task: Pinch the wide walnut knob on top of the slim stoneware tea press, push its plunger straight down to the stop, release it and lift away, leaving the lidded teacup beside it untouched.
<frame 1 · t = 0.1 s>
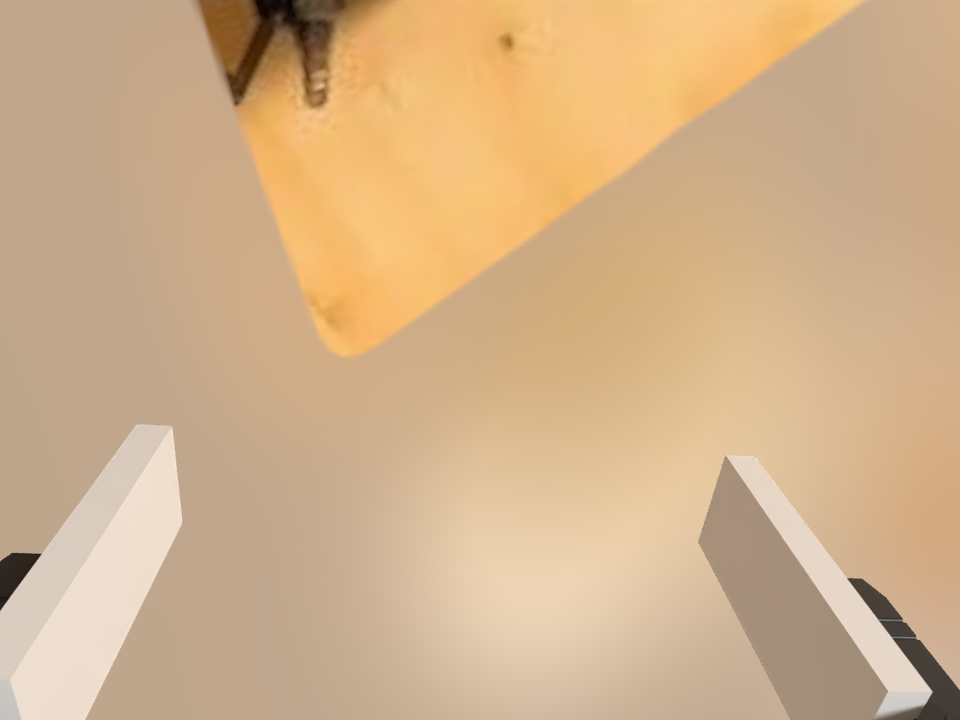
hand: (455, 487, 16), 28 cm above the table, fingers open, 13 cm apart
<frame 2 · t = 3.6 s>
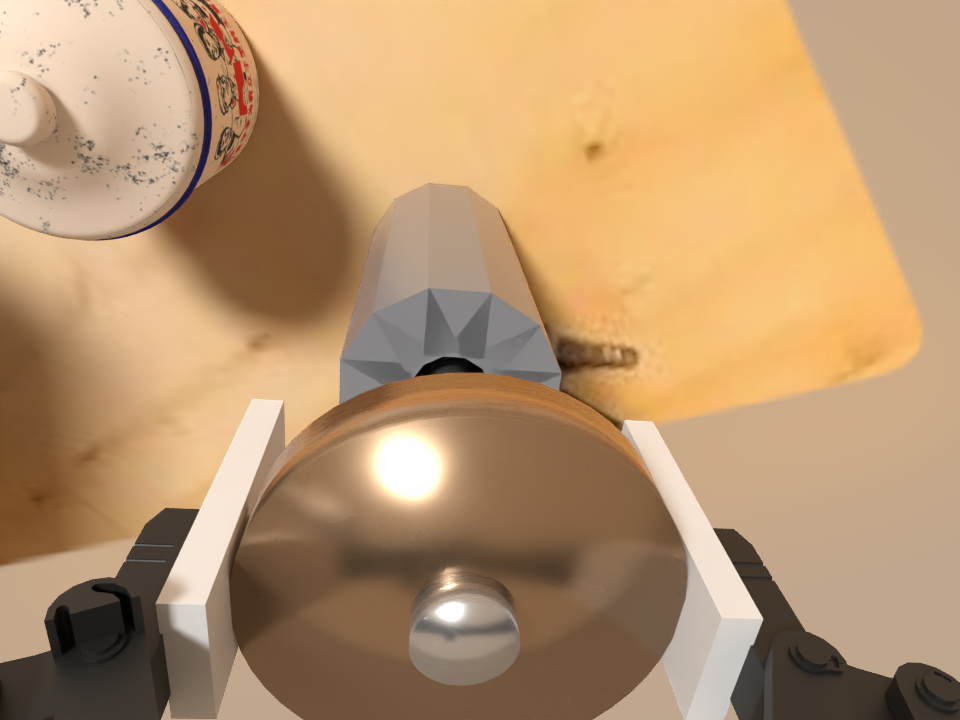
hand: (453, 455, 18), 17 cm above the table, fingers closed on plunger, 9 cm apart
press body: (442, 253, 33), on the table
plunger: (452, 431, 19), point 16 cm above the table, slide at 0.0 cm, touching gripper
teacup with lid: (147, 42, 28), on the table
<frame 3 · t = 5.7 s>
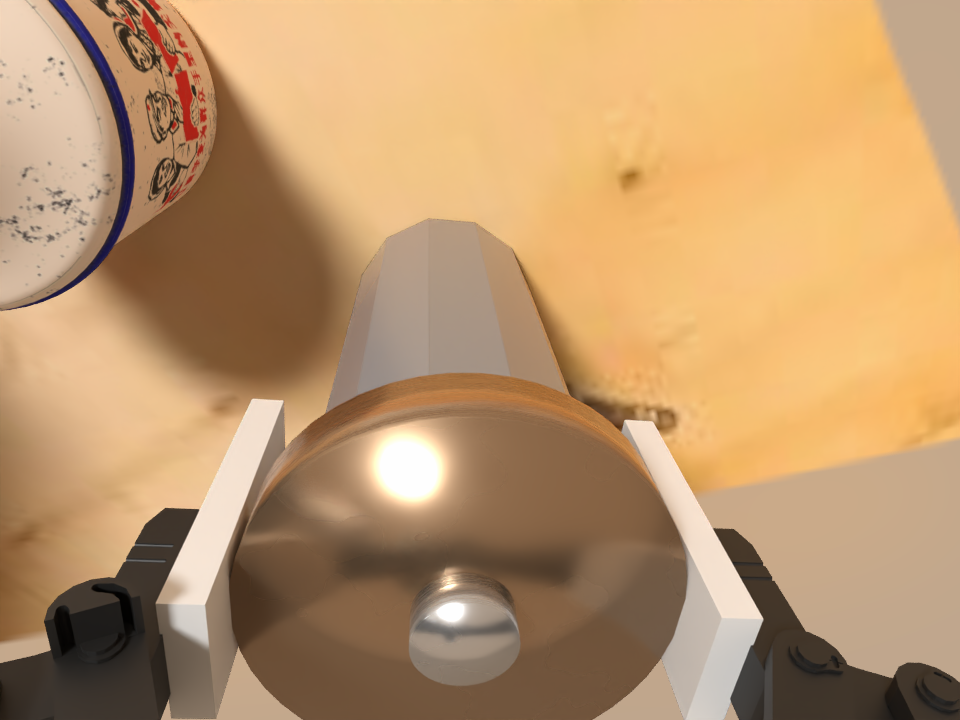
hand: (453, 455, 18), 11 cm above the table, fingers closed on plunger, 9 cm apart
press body: (444, 301, 27), on the table
plunger: (452, 431, 19), point 10 cm above the table, slide at 6.4 cm, touching gripper
teacup with lid: (75, 46, 23), on the table
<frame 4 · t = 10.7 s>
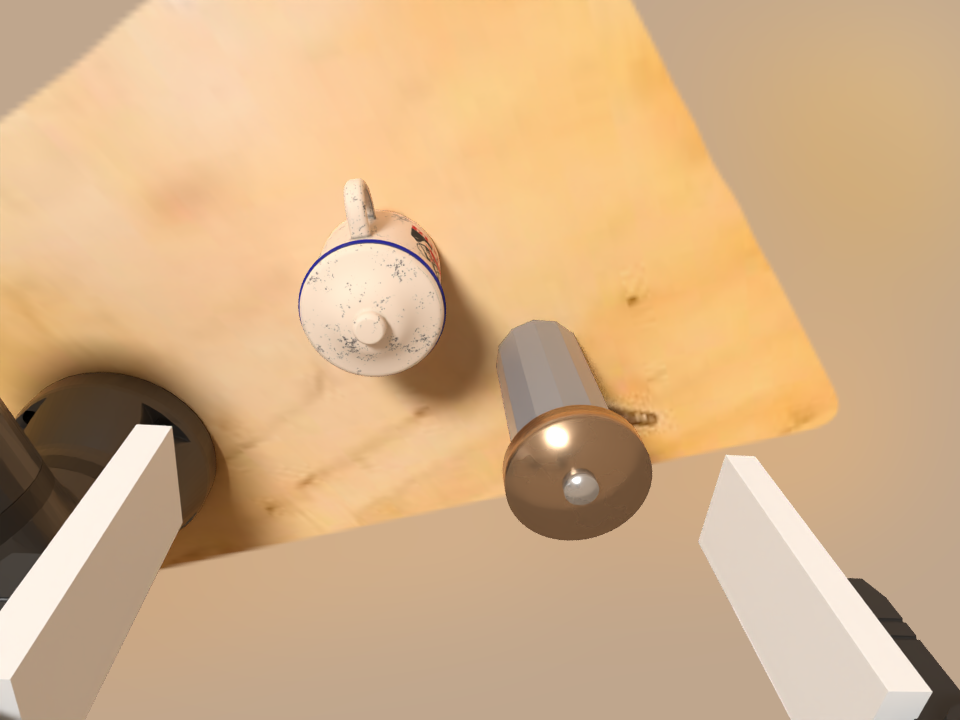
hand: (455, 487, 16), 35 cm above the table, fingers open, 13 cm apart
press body: (538, 358, 54), on the table
plunger: (560, 424, 45), point 10 cm above the table, slide at 6.3 cm
teacup with lid: (377, 247, 49), on the table
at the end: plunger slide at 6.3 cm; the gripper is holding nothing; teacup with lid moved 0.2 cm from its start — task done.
